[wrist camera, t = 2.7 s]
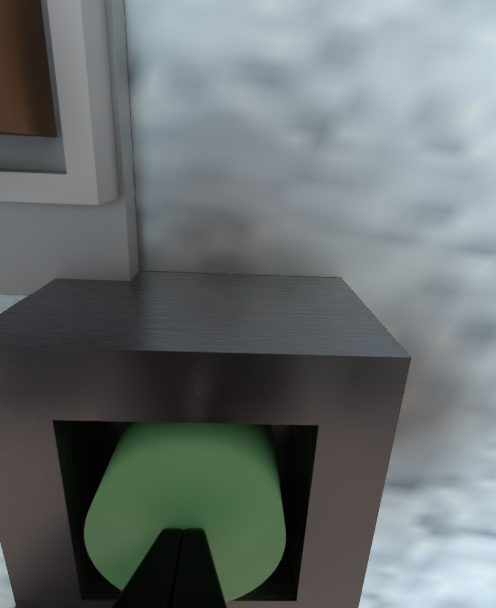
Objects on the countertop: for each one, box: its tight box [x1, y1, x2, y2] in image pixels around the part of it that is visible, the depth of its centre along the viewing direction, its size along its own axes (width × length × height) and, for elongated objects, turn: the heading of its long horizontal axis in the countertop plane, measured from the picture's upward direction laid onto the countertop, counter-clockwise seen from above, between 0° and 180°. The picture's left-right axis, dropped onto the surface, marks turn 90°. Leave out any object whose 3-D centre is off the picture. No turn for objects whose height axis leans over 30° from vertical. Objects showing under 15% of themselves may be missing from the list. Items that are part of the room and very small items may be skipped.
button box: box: [0, 271, 411, 608], centre depth 11 cm, size 8×8×5 cm
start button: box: [84, 422, 286, 602], centre depth 9 cm, size 4×4×4 cm
